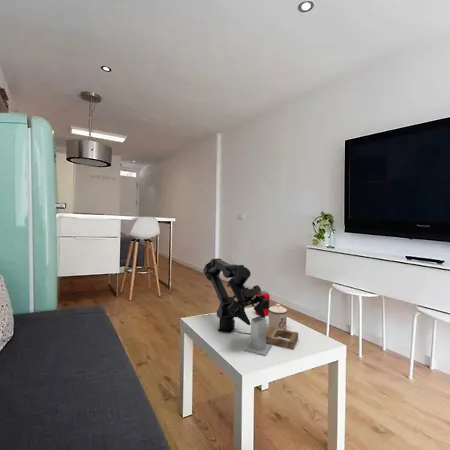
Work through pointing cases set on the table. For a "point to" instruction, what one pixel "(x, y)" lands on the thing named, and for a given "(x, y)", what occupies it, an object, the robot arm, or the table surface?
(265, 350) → the rubber mat
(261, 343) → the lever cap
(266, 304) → the soda can
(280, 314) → the teacup with lid
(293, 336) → the brown wooden rectangular frame
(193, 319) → the table surface
